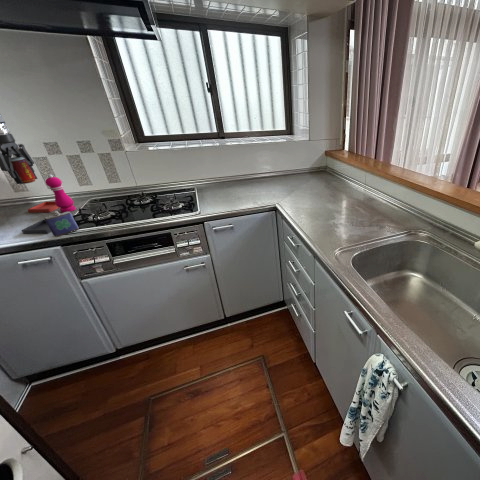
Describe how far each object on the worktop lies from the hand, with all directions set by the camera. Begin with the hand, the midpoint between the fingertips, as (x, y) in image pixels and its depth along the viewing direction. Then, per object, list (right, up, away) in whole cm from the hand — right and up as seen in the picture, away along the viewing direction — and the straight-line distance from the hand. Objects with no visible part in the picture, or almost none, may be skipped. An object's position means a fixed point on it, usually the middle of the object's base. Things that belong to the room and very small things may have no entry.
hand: (27, 181), depth 137 cm
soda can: (0, -1, 0) cm, 1 cm away
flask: (+34, -27, -14) cm, 45 cm away
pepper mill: (+13, -14, +9) cm, 21 cm away
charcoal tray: (+20, -25, -9) cm, 33 cm away
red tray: (-1, -13, +12) cm, 17 cm away
